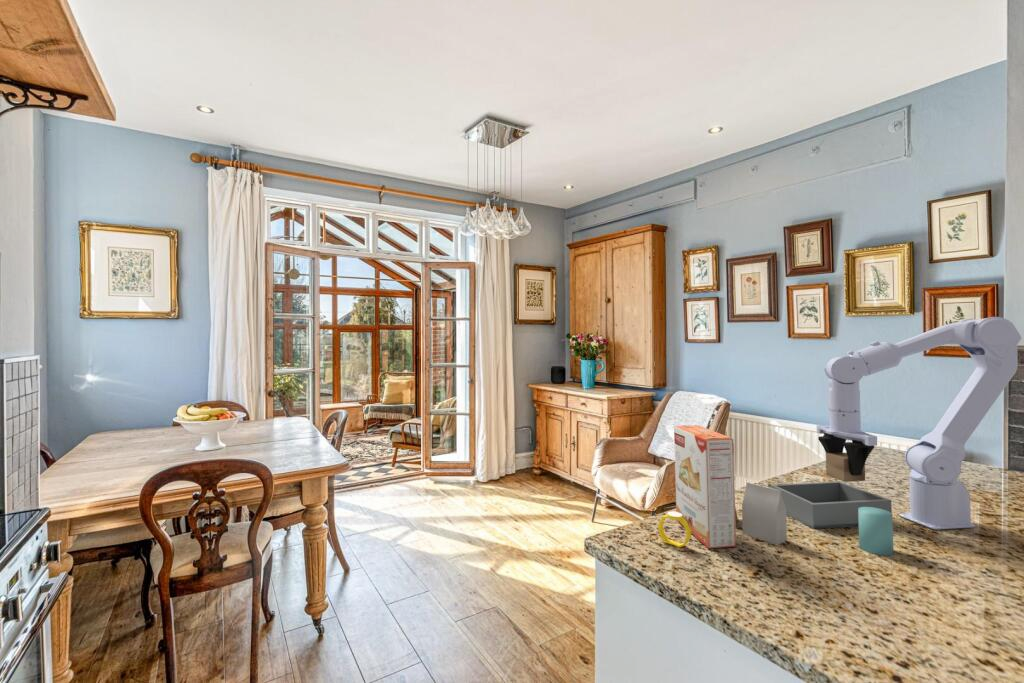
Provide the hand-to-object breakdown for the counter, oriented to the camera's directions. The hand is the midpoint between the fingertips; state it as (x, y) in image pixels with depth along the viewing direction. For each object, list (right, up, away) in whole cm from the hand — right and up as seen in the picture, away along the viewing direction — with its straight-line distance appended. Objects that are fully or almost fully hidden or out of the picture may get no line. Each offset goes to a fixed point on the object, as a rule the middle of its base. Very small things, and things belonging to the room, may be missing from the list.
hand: (845, 471), depth 104 cm
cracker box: (-36, -10, -10) cm, 38 cm away
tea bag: (-24, -10, -11) cm, 29 cm away
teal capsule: (-7, -10, -18) cm, 21 cm away
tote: (-4, -10, 0) cm, 10 cm away
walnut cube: (0, -1, 0) cm, 1 cm away
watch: (-43, -10, -14) cm, 47 cm away
